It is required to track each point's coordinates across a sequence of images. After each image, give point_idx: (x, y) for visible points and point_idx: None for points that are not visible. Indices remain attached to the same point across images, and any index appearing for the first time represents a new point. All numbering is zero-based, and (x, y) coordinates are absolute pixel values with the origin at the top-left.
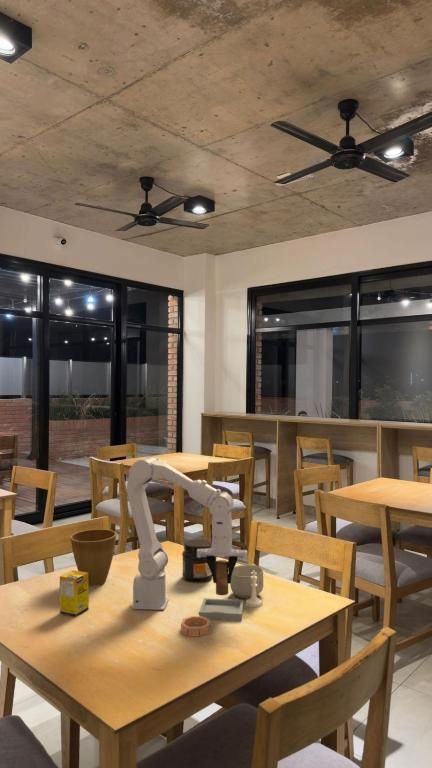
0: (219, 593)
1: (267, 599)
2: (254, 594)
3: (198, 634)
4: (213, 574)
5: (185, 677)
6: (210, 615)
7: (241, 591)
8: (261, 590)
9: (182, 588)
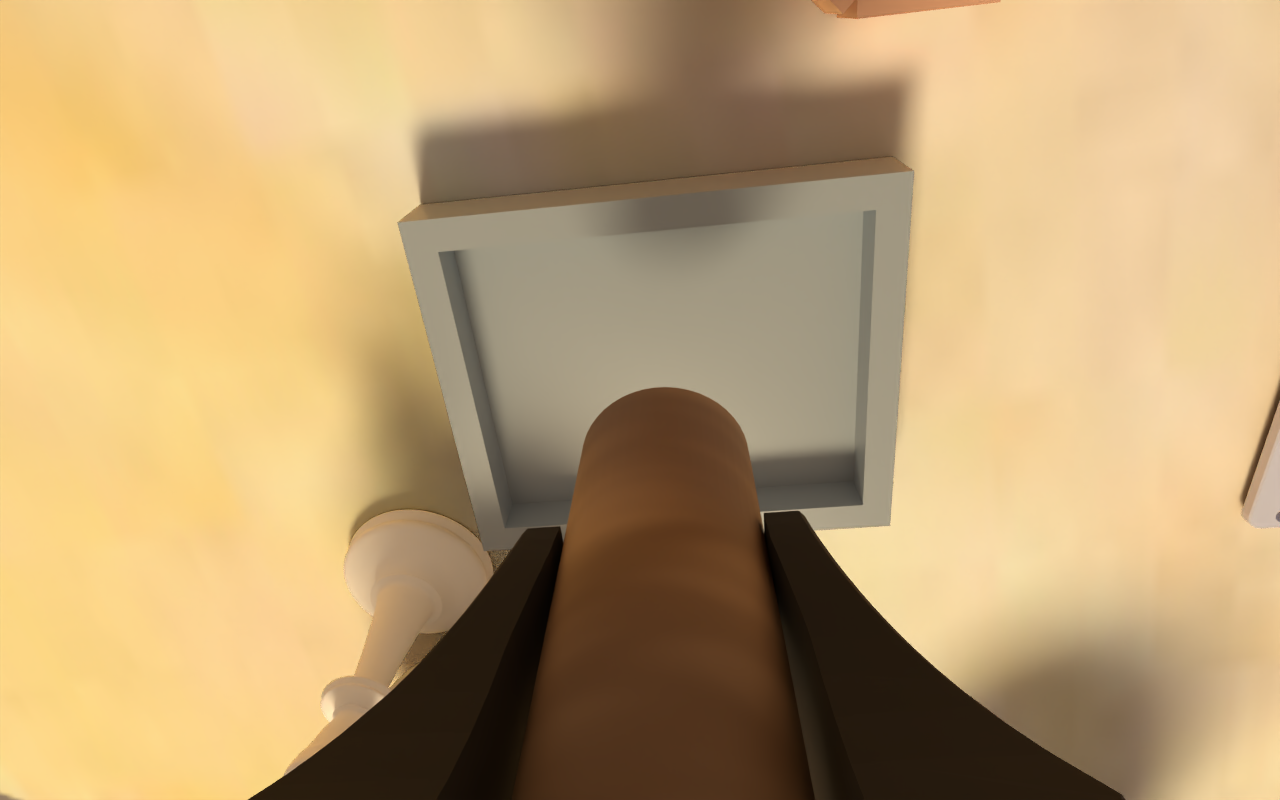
0: (687, 400)
1: (340, 650)
2: (380, 619)
3: None
4: (829, 599)
5: None
6: (767, 179)
7: None
8: None
9: (1090, 731)
